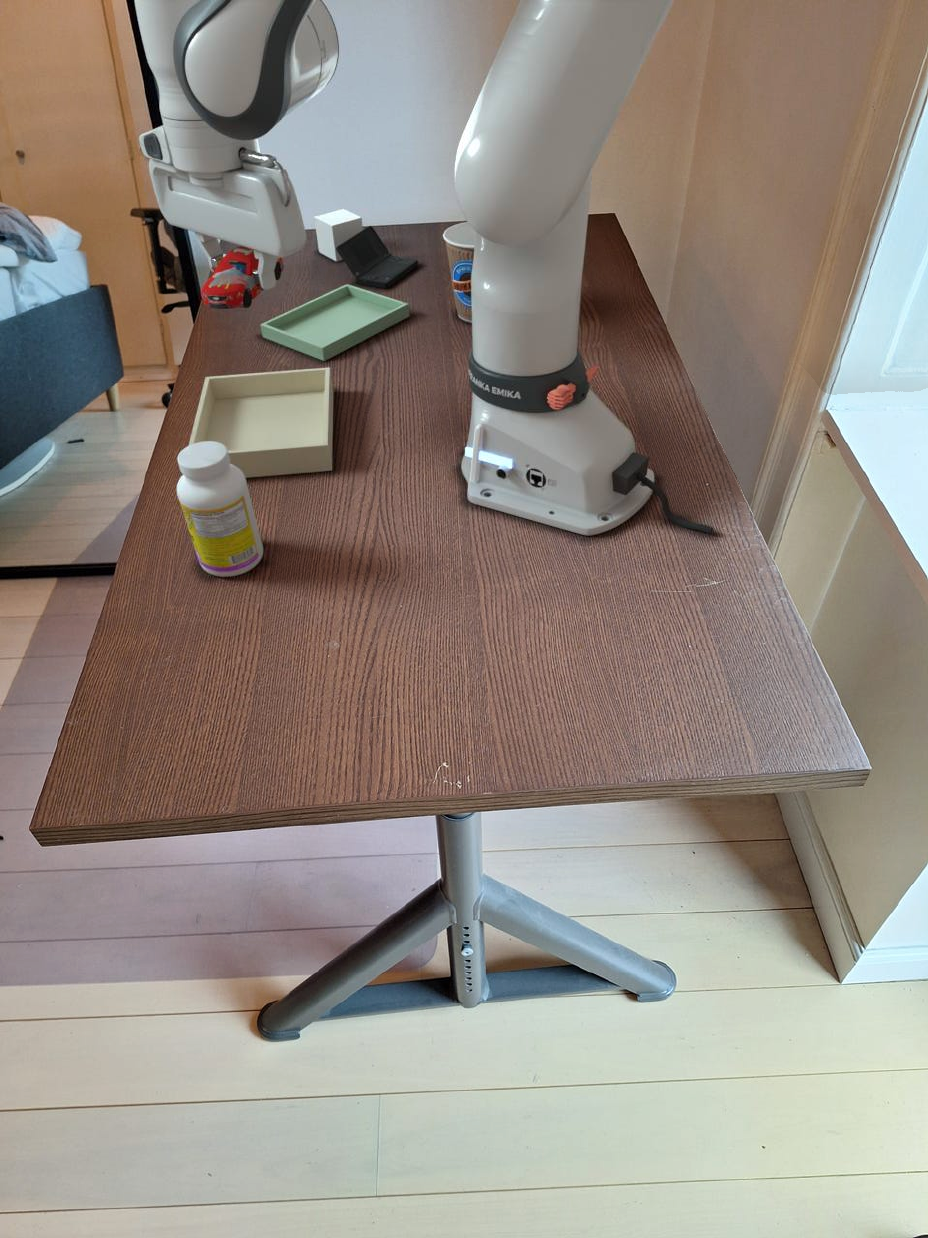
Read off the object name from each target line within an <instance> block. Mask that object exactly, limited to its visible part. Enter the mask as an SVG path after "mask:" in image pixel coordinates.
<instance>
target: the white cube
mask: <svg viewBox="0 0 928 1238" xmlns="http://www.w3.org/2000/svg"><path fill="white" fill-rule="evenodd" d="M313 220H314V226H315V233H316V240H317V248H318V253H320V254H321V255H323V256H325V257H327V258H329V259H331V260H333V261H335V262H336V263H337V262H340V261H343V259H342V258H341V256H340V255H339V253H338V252H337V250H336V248H337V247H338V246H339V245H340V244H342V243H344V242H345V241H347V240H348V239H350V238H351V237H353V236H355V235H356V234H358V233H359V232H361V231H362V230H364V227H363V226H364V225H363V218H362V217H361V216H359V215H357V214H356V213H353V212H351V211H349V210H347V209H344V208H342V209H338V210H335V211H331V212H327V213H323V214H319V215H316V216H313Z"/></svg>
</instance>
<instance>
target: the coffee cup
mask: <svg viewBox="0 0 928 1238" xmlns="http://www.w3.org/2000/svg"><path fill="white" fill-rule="evenodd" d="M475 236H476V231H475V230H474V229H473V228H472V227H471V226H470V225H469V224H468V222H467V221H466V222H459V223H457V224H454V225H451V226H450V227H448V228H446V229H445V230H444V232H443V234H442V238H443V240H444V241H445V246H446V253H447V259H448V265H449V272H450V277H451V278H450V279H451V286H452V291H453V298H454V304H455V309H456V310H457V315H458V318H459V319H460V320H462V321H464V322H467V323H470V324H472V305H471V273H472V267H473V259H474V248H475Z"/></svg>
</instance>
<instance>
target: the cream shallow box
mask: <svg viewBox="0 0 928 1238" xmlns="http://www.w3.org/2000/svg"><path fill="white" fill-rule="evenodd" d="M192 426H193V427H192V430H191V434H190V438H189V442H188V446H189V445H192V444H195V443H198V442H204V441H214V442H219V443H221V444H223V445H224V446H225V447H226V448H227V450H228V454H229V457H230V464H232V465H234V466H236V467H237V468H239V469H240V470H241V471H242V473H243V474H244V476H245V478H259V477H271V476H281V475H282V476H284V475H292V474H294V475H295V474H306V473H307V474H308V473H319V472H331V471H333V441H334V440H333V439H334V437H333V436H334V435H333V433H334V385H333V380H332V372H331V368H330V367H319V368H318V367H317V368H305V369H290V370H280V371H279V370H278V371H267V372H253V373H251V372H250V373H239V374H226V375H215V376H214V375H213V376H205V378H204V382H203V385H202V390H201V393H200V398H199V402H198V406H197V410H196V414H195V418H194V422H193V425H192Z"/></svg>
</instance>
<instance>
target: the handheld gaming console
mask: <svg viewBox="0 0 928 1238" xmlns="http://www.w3.org/2000/svg"><path fill="white" fill-rule="evenodd" d="M336 250H337V252H338V253H339V255H340V256H341V258H342V259H343V260H342V261H343V262H344V264H345V265H346V266H347V268H348V270H349V271H350V272H351V274H352V275H353V277H354V278H355V283H356V284H358V285H362V286H363V285H364V286H369V287H375V288H380V289H385V290H387V289H388V288H390V287H391V286H393V285H394V284H395V283H396V282H398V281H399V280H401V279H402V278H403V277H405V276H406V275H408V274H409V273H410V272H412V271H413V270H414V269H416V268H417V267H418V266H419V260H418V259H416V258H411V257H404V256H398V255H393V254H392V253H391V252H390V251H389V250H388V247H386V245H385V244H384V241H382V239H381V238H380V235H378V233H377V231H376V230H375V229H374V226H372V225H369V226H367V227H365V228H363V230H362V231H361V232H359V233H358V234H356V235H355V236H353V237H351V238H350V239H348V240H347V241H345V242H344V243H342V244H340V245H339V246H338V247H337V248H336Z"/></svg>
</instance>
